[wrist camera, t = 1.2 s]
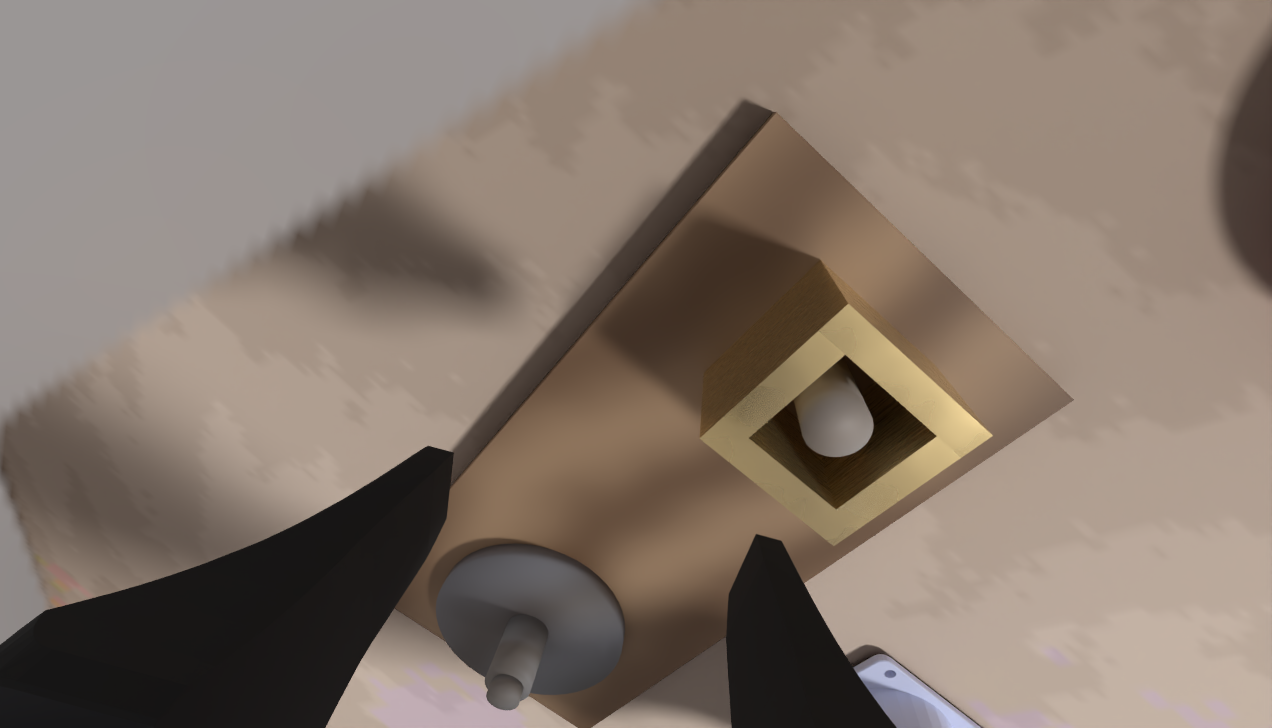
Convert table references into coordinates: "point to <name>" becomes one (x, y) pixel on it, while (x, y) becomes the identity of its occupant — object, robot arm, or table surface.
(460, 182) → the table surface
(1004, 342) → the board
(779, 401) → the collar
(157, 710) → the robot arm
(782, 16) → the table surface
